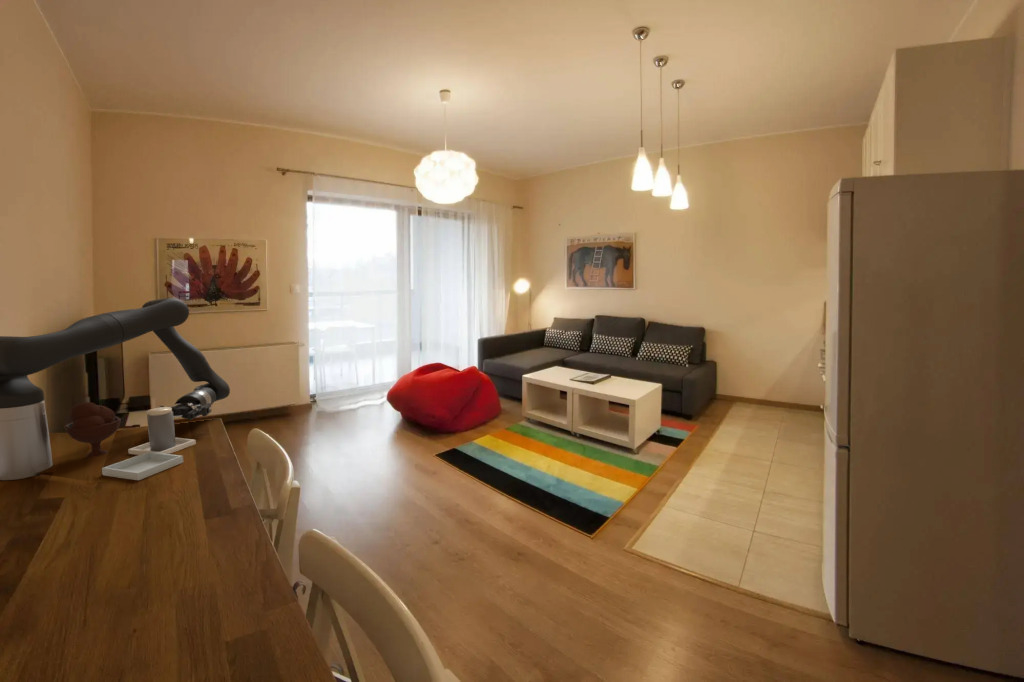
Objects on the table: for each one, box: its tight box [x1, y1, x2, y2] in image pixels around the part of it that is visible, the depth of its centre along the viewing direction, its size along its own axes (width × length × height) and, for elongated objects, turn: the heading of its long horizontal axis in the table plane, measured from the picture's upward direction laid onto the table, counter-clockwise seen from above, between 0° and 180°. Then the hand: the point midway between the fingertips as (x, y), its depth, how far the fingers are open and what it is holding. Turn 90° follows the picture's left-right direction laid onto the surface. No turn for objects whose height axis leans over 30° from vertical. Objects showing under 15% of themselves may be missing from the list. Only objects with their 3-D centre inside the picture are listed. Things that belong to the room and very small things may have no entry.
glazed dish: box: [101, 452, 184, 481], centre depth 111 cm, size 11×11×2 cm
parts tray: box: [127, 437, 197, 456], centre depth 124 cm, size 10×10×2 cm
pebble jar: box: [146, 406, 176, 452], centre depth 123 cm, size 6×6×11 cm
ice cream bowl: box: [63, 401, 122, 458], centre depth 119 cm, size 11×11×15 cm
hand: (171, 418), depth 129 cm, fingers open, 8 cm apart
